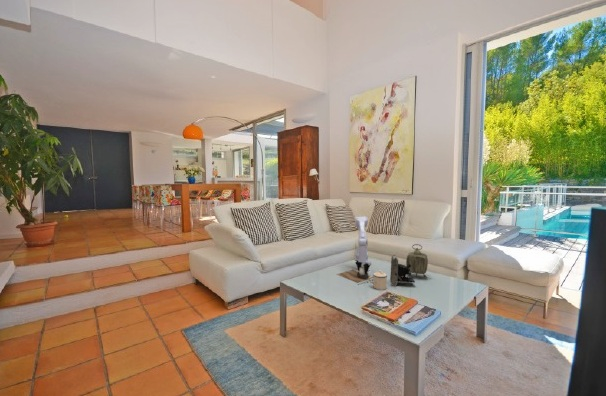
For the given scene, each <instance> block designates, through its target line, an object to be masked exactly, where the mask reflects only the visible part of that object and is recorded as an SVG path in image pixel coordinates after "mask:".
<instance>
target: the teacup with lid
mask: <svg viewBox="0 0 606 396" xmlns="http://www.w3.org/2000/svg"><path fill="white" fill-rule="evenodd" d="M369 276H370V277H369V279H368V282H369V283H370V284H372V285H373V286H372V287H373V288H374V289H375V290H382V291H383V290H386V289H387V277H388V275H387V273H385V272H383V271H382V270H380V269H379V270H378V271H376V272H374V273H373V274H372V275H369ZM371 277H372V278H371ZM370 278H371V279H372V280H371V279H370ZM370 280H371V281H370Z"/></svg>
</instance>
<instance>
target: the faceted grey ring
mask: <svg viewBox="0 0 606 396" xmlns="http://www.w3.org/2000/svg"><path fill="white" fill-rule="evenodd" d="M368 275H369V273H368V272H367V274H366V275H360V274H359V271H358V273H357V277H358V278H361V279H367V278H368Z"/></svg>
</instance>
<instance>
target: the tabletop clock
mask: <svg viewBox="0 0 606 396" xmlns="http://www.w3.org/2000/svg"><path fill="white" fill-rule="evenodd" d="M414 246H419V247H421V248H418V247H417V248H416V247H414ZM411 248H412V249H413V250H414V251H409V253H408V254H407V257H406V261H405V262H406V263H405V266H409V265H408V264H410V265H411V267H409V269H410V272H409V274H408V276H411V274H415V276H414V278H416V279H418V275H423V277H424V278H425V277H427V276H426V274H427V270H428V266H429V265H428V264H429V263H428V261H429V259H428V256H427V254H426V253H424V252H421V250H422V249H423V246H422V245H421V244H419V243H417V244H416V243H415V244H413V245H412V246H411Z"/></svg>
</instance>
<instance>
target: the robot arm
mask: <svg viewBox="0 0 606 396" xmlns="http://www.w3.org/2000/svg"><path fill="white" fill-rule="evenodd" d="M354 220H355V221H354V222H355V227H356V228H357V229H358V244H357V245H358V248H356V249H355V254H354V255H355V256H354V257H355V258H354V261H355V265H356V271H358V272H360V267H364V272H365V274H367V273H368V271H370V266H372V262H371V261H369V260H368V259H369V252H368V247H367V246H368V243H369V241H368V237H367V232H366V230H365V228H367V227H368V225H369V222H368V221H369V219H368V216H355V219H354Z"/></svg>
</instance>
